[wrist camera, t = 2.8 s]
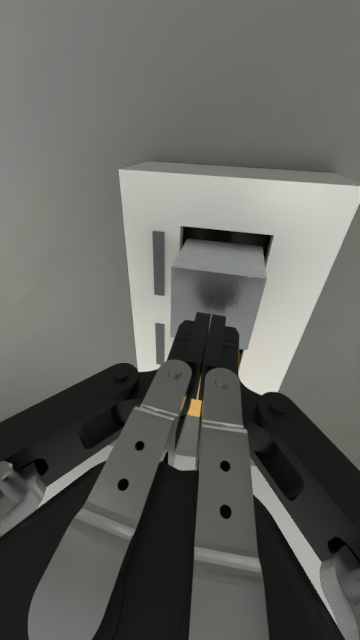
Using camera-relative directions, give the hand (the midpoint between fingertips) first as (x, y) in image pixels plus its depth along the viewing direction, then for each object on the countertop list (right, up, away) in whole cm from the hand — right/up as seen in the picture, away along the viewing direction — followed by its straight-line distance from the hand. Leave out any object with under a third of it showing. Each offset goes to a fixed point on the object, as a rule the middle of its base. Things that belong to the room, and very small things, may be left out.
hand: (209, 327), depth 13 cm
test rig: (+2, +4, +12) cm, 13 cm away
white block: (+1, +3, +5) cm, 6 cm away
